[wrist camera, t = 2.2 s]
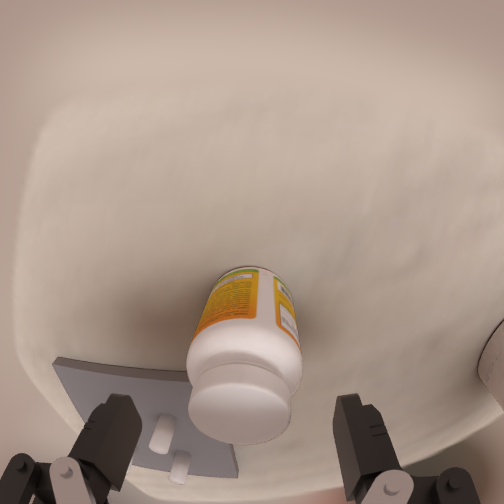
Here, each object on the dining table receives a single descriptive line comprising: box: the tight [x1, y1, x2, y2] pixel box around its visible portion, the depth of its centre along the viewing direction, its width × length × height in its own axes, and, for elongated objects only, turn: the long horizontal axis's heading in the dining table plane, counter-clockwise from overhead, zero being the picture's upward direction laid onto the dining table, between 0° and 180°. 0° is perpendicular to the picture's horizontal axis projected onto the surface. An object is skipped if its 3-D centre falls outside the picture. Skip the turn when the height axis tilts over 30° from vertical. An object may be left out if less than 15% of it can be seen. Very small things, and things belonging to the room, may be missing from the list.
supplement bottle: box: [186, 267, 303, 445], centre depth 14 cm, size 5×5×10 cm
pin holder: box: [52, 357, 239, 485], centre depth 22 cm, size 16×16×5 cm
